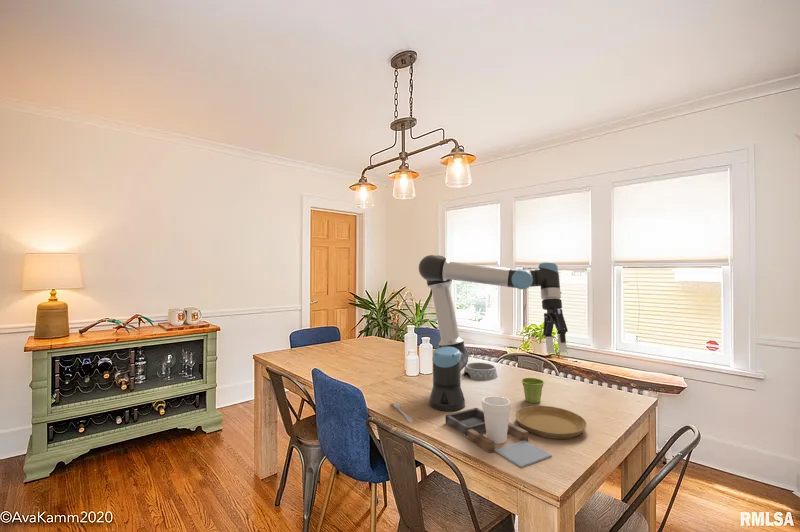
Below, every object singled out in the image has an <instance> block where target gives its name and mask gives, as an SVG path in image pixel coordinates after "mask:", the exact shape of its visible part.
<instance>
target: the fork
mask: <svg viewBox="0 0 800 532" xmlns="http://www.w3.org/2000/svg"><path fill="white" fill-rule="evenodd" d="M389 405H390V406H391V405H393V406H394V408H396V409H397V410H398V412H400V414H402V416H403V417H404V418H405V419H406V421H407V422H408V423H414V422H415V420H414V419H413V417H410V416H409V415H407V414H406V413H405V412H404V411H402V409H401V403H399V402H397V403H391V404H389Z"/></svg>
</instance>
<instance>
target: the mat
mask: <svg viewBox="0 0 800 532" xmlns="http://www.w3.org/2000/svg"><path fill="white" fill-rule="evenodd" d="M494 452H495V453H497V454H499V456H501V457H503V458H504V459H506V460H508V461H509V462H511V463H513V464H514V465H516V466H518V467H520V468H525V467H527V466H531V465H533V464H535V463H538V462H541V461H543V460H545V459H549V458H552V456H553V455H552V454H550V453H549V452H547V451H545V450H543V449H541V448H539V447H538V446H536V445H535V444H532V443H529V441H524V440H523V441H522V440H519V441H517V442H515V443H512V444H508V445H506V446H502V447H498V448H496V449H495V451H494Z"/></svg>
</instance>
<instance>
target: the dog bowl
mask: <svg viewBox="0 0 800 532" xmlns="http://www.w3.org/2000/svg"><path fill="white" fill-rule="evenodd" d="M466 373H467V374H468V376H469V377H470V380H474V381H492V380H496V379H497V378H498V373H497V368H496V366H495V365H493V363H492V364H491V363H487V362H486V363H485V362H477V361H476V362H467V364H466V366H465V367H464V368H463V374H462V375H463V376H465V374H466Z"/></svg>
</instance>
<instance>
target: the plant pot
mask: <svg viewBox="0 0 800 532" xmlns="http://www.w3.org/2000/svg"><path fill="white" fill-rule="evenodd" d="M521 383H522V386H523V392H524V399H525V402H529V403H531V404H538V403H540V402H541V400H542V399H541V398H542V391H543V387H544V384H545V381H544V380H543V379H540V378H536V377H524V378H521Z"/></svg>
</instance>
